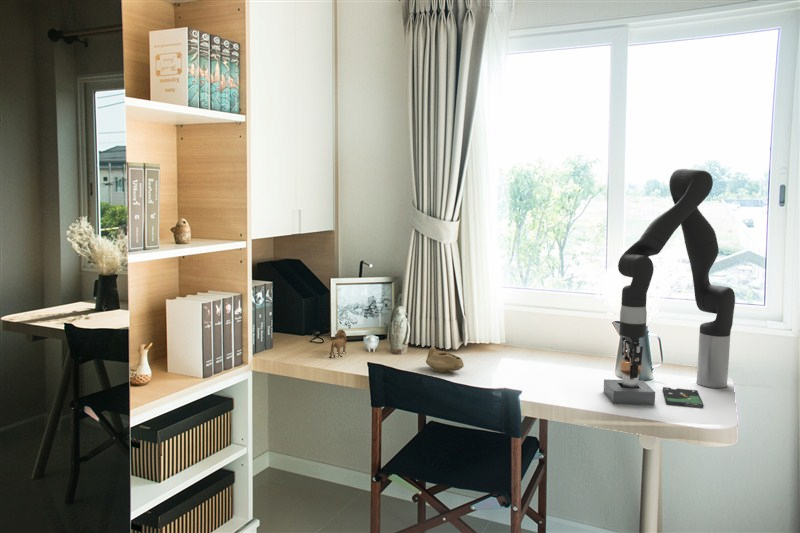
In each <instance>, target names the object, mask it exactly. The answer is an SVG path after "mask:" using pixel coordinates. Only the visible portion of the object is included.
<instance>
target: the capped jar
mask: <svg viewBox="0 0 800 533" xmlns="http://www.w3.org/2000/svg"><path fill="white" fill-rule="evenodd" d="M635 361H636V359H635ZM642 364H643V363H642V362H641V365H639V366H638V377H637V378H631V377H630V359H622V360H620V372H621V373H622V375H621V380H622V388H638V384H639V379H640V375H641V373H642Z"/></svg>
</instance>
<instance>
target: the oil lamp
mask: <svg viewBox="0 0 800 533" xmlns="http://www.w3.org/2000/svg"><path fill="white" fill-rule="evenodd" d="M425 363H426V365H427V366H428V367H430V368H431V369H432V371H434V372H437V373H450V372H452V371H453V372H455V371H459V370H461V369H462V368H464V366H465V364H464V362H463V359H462V357H460V356H457V355H455V354H453V353H451V352H448V351H443V350H442V351H441V350H438V349H436V347H435V346H431V347H430V349H429V350H428V354H427V356H426V359H425Z"/></svg>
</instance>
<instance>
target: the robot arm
mask: <svg viewBox="0 0 800 533" xmlns="http://www.w3.org/2000/svg"><path fill="white" fill-rule="evenodd" d="M713 179H714V178H713V177H712V174H711V173H710V172H708V171H707V170H702V169H693V168H691V169H689V168H678V169H676V170H674V171H673V172H672V173H671V175H670V178H669V183H668V184H669V185H668V186H669V191H670V195H671V198H672V201H673V204H674V205H673V206H671V207H670V208H668V209H667V210H666V211H664V212H663V213H662V214H660V215H659V216H657V217H656V218H654V219H653V220H652V222H651V223H650V224H649V225H648V226H647V228H646V230H644V231H643V233H642V235H641V236H640V238H639V239H638V240H637V241H636V242H634V243H633V244H632V245H631V246H630V247H629V248H628V249H627V250H625V251H624V253H623V254H622V255H621V257H620V258H619V260H618V262H617V263H618V264H617V269H618V272H619V273H620V274H621V275H622V276H624V277H628V278H631V281H630V282H631V283H630V284H628V285H625V286H623V288H622V290H621V303H620V304H621V307H620V312H619V335H620V336H621V356H622V359H623V360H625V359H630V377H631V378H637V377H638V366H639V365H641V362H642V360H643V349H644V347H643V345H641V342H640V339H641V338H644V337H646V335H647V313H648V312H647V296H648V295H647V293H648V291H649V288H650V284H651V281H652V278H653V276H654V272H655V270H654V263H653V261H652V259H651V258H650V257H651V256H655V255H656V256H657V255H658V254H659V253H661V251H662V250H663V249H664V247H665V246H666V244H667V243H668V242H669V240H670V239H671V237H672V235H673V234H674V233H675V231H676V230H677V229H678V228H679V227H681V230H682V234H683V238H684V246H685V249H686V254H687V256H688V260H689V265H690V269H691V274H692V275H691V276H692V282H693V290H694V291H693V292H694V298H695V304H696V307H697V308H698V310H699V311H701V312H704V313H707V314H708V313H709V314H715V315H716V317H715V319H714V320H713V321H709V322H703V323H701V324H700V325H699V336H698V337H699V338H698V351H697V353H698V354H697V355H698V356H697V368H696V369H697V370H696V383H697V385H700V386H703V387H706V388H713V389H723V388H726V387H728V377H729V376H728V375H729V365H730V364H729V362H730V349H731V348H730V347H731V332H732V331H731V330H732V327H733V323H734V322H733V321H734V313H735V304H736V295H735V294H736V293H735V291H734V289H733V288H732V287H729V286H723V285H714V284H711V282H710V276H709V275H710V270H711V269H712V267H713V265H714V263H715V262H716V260H717V258H718V256H719V250H720V249H719V244H718V243H719V242H718V239H717V235H716V231H715V229H714V228H713V226H712V225H711V224H710V222H709V221H708V220H707V219H706V217H705V216H704V215H703V213H702V211H700V209H699V208H698V207H699V206H700V205H701V204H702V203H703V202H704V200H706V199H707V197H708V196H709V194H711V191H712V189H713V183H714V182H713V181H714V180H713ZM635 360H636V361H635Z"/></svg>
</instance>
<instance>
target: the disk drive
mask: <svg viewBox="0 0 800 533" xmlns="http://www.w3.org/2000/svg"><path fill="white" fill-rule="evenodd" d="M662 393H663V397H664V402H665V405H668V406H677V407H678V406H679V407H689V408H699V409H704V402H703V401H702V398H701V395H700V393H699V391H698V390H697V389H688V388H679V387H677V388H676V389H674V388H671V387H669V386H668V387H666V386H663V387H662Z"/></svg>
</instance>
